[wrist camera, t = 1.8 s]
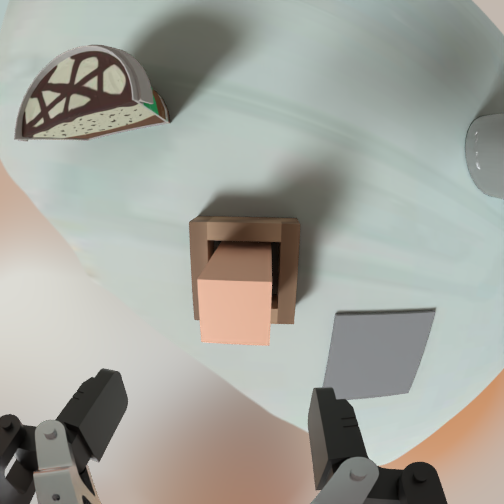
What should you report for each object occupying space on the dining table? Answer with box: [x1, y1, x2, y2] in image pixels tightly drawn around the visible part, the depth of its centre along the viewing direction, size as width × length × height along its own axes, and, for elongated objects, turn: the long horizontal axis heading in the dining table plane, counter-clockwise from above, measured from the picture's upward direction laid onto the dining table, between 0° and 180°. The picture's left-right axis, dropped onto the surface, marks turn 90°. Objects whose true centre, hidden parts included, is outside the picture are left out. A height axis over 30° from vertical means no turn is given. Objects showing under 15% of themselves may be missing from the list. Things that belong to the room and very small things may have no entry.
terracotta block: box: [197, 241, 272, 346], centre depth 23 cm, size 4×4×10 cm
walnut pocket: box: [189, 216, 300, 324], centre depth 26 cm, size 9×9×3 cm
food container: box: [14, 45, 170, 141], centre depth 19 cm, size 12×6×10 cm, turn 93°
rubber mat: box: [323, 311, 435, 400], centre depth 30 cm, size 12×12×1 cm
